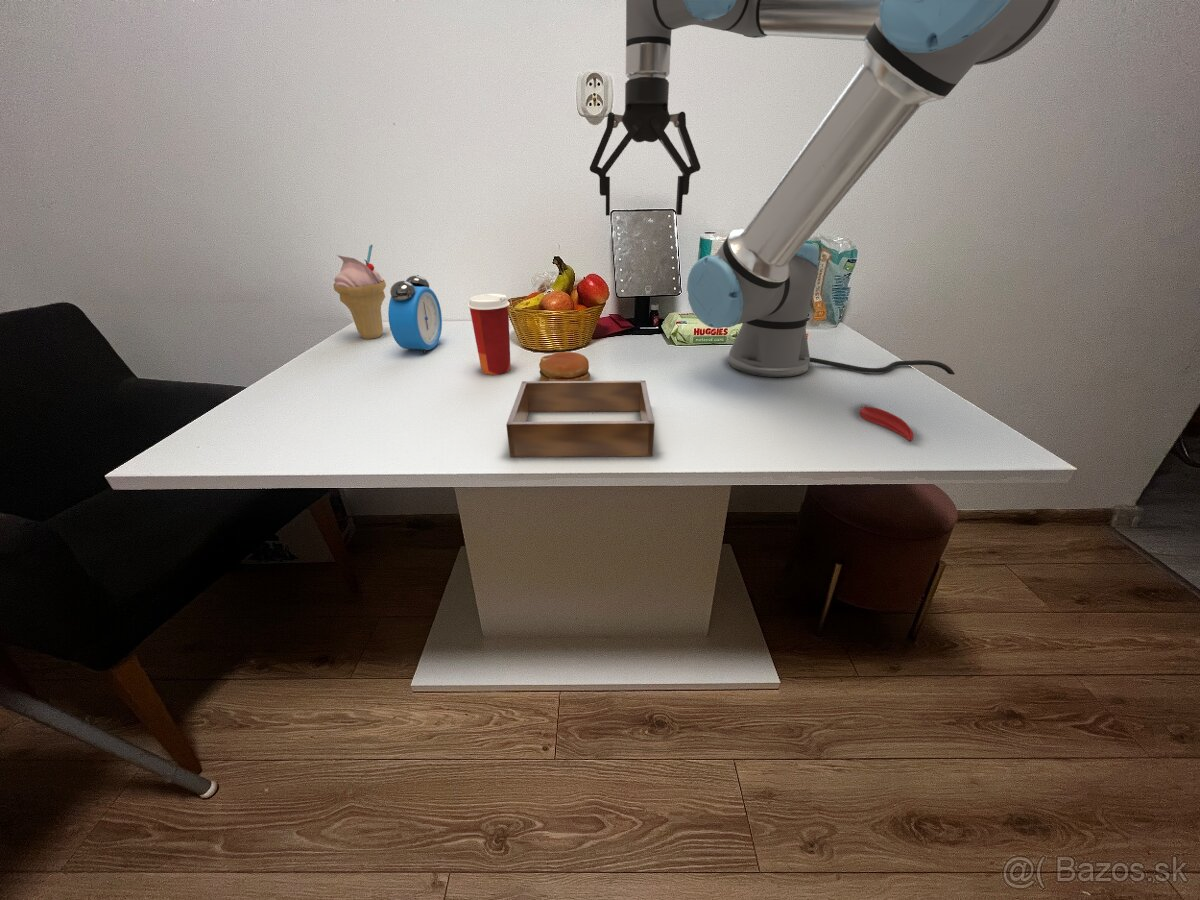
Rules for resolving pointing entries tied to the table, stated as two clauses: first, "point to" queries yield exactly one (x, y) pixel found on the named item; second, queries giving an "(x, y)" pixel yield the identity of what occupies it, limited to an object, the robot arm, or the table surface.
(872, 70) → the robot arm
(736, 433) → the table surface
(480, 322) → the paper cup
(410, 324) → the alarm clock
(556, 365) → the burger
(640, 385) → the wooden box
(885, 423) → the cayenne pepper
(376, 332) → the ice cream cone
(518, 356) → the table surface
